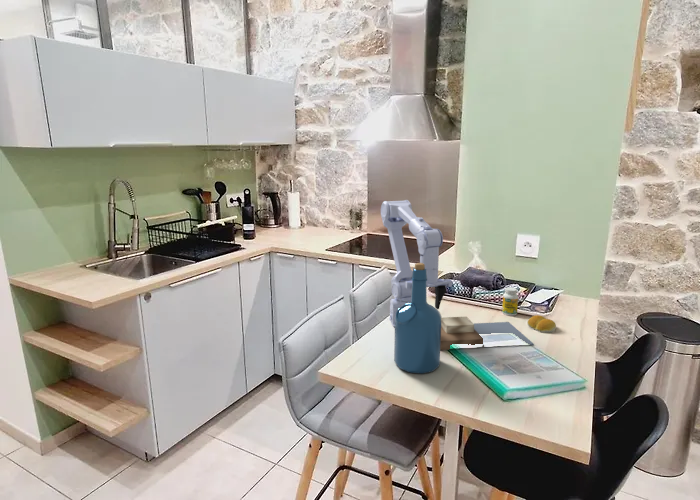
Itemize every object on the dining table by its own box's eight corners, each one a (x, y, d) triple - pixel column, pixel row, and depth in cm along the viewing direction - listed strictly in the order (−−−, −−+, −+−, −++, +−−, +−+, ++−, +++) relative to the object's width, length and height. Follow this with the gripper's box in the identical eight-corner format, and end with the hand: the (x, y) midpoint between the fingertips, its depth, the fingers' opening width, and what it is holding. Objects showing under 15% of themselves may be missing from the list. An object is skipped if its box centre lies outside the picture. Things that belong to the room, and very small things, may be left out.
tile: (446, 333, 143) (446, 325, 142) (440, 324, 150) (440, 317, 149) (473, 331, 144) (474, 324, 143) (466, 323, 151) (466, 316, 150)
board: (438, 350, 138) (439, 341, 137) (423, 327, 155) (424, 319, 155) (482, 347, 139) (483, 338, 139) (463, 325, 157) (463, 317, 156)
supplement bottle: (516, 311, 169) (518, 287, 167) (517, 316, 164) (519, 291, 162) (501, 310, 171) (503, 286, 168) (501, 315, 166) (503, 290, 163)
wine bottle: (419, 349, 138) (422, 255, 131) (450, 367, 127) (454, 265, 121) (383, 361, 131) (384, 262, 124) (413, 380, 120) (416, 273, 113)
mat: (484, 347, 139) (484, 346, 139) (464, 325, 157) (464, 323, 157) (533, 345, 141) (533, 343, 141) (508, 323, 158) (508, 321, 158)
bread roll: (546, 335, 148) (547, 324, 148) (523, 326, 156) (524, 315, 155) (561, 329, 153) (562, 318, 152) (538, 321, 160) (539, 310, 159)
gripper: (409, 271, 136) (408, 314, 139) (455, 269, 138) (454, 311, 141) (404, 266, 143) (403, 306, 146) (448, 264, 144) (447, 304, 147)
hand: (428, 308), depth 144 cm, fingers open, 5 cm apart
